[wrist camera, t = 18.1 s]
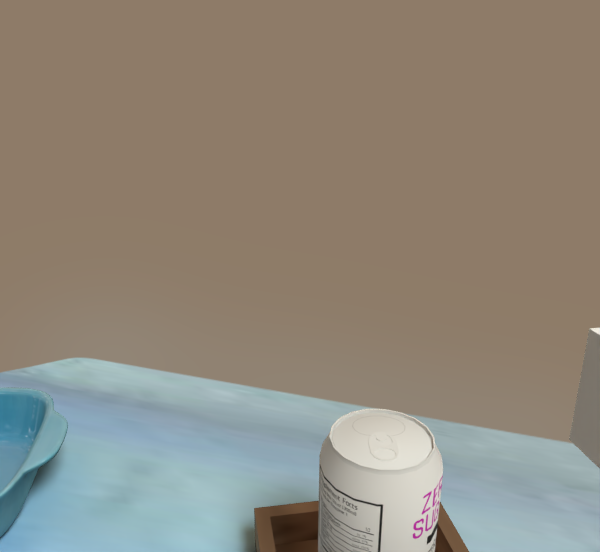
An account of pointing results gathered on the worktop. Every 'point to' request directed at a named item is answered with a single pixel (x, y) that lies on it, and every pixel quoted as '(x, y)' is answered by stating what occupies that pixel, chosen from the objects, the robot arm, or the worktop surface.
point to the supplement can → (379, 484)
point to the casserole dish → (25, 445)
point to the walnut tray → (304, 529)
